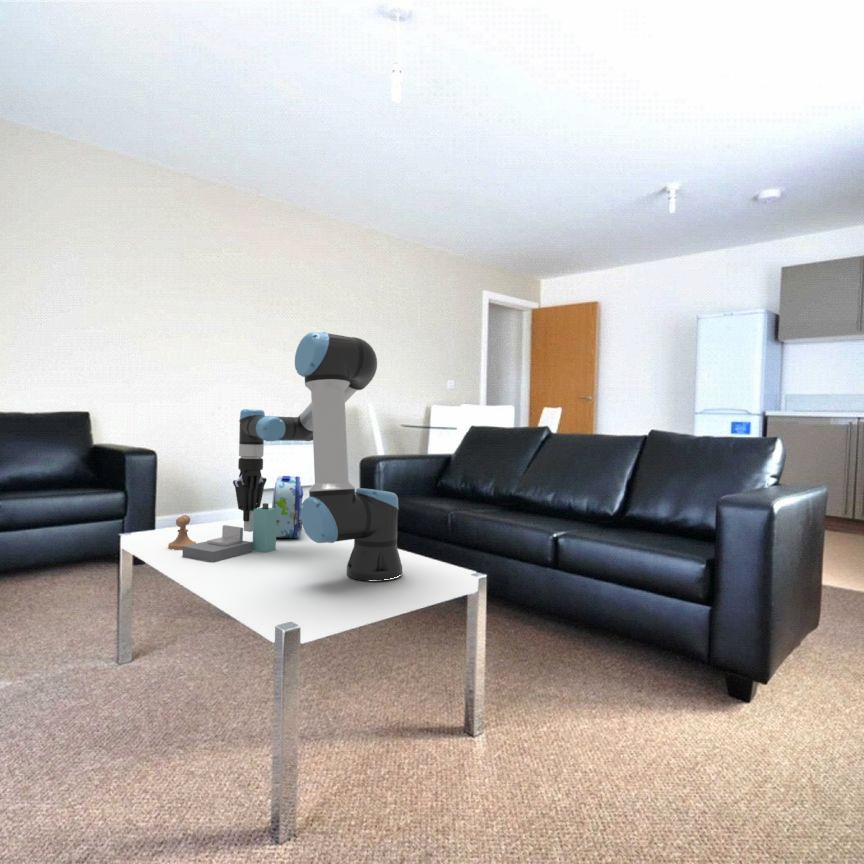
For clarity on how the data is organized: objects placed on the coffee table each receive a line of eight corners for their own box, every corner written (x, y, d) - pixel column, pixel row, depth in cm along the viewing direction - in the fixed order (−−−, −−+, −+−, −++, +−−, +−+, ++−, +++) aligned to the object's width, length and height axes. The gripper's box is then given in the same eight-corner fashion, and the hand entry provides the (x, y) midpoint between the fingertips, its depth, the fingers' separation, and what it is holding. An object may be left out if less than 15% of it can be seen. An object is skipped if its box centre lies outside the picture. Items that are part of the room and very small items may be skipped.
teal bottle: (275, 549, 184) (277, 503, 184) (264, 552, 179) (266, 505, 179) (263, 547, 186) (264, 502, 186) (252, 550, 182) (253, 503, 181)
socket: (252, 551, 180) (252, 542, 179) (212, 562, 165) (213, 551, 165) (223, 546, 185) (223, 537, 185) (182, 556, 170) (182, 546, 170)
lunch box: (302, 541, 198) (304, 479, 197) (269, 541, 195) (271, 479, 195) (300, 527, 223) (302, 472, 223) (271, 527, 220) (273, 472, 220)
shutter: (242, 541, 179) (243, 527, 179) (225, 546, 172) (225, 531, 172) (225, 539, 182) (225, 525, 182) (207, 543, 175) (207, 528, 175)
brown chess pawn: (199, 514, 187) (193, 518, 179) (199, 544, 187) (192, 550, 179) (173, 513, 186) (165, 518, 178) (173, 544, 186) (164, 549, 178)
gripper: (256, 456, 193) (253, 526, 194) (226, 457, 181) (224, 532, 182) (273, 457, 190) (271, 529, 190) (245, 459, 178) (242, 535, 179)
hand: (248, 530), depth 186 cm, fingers closed
